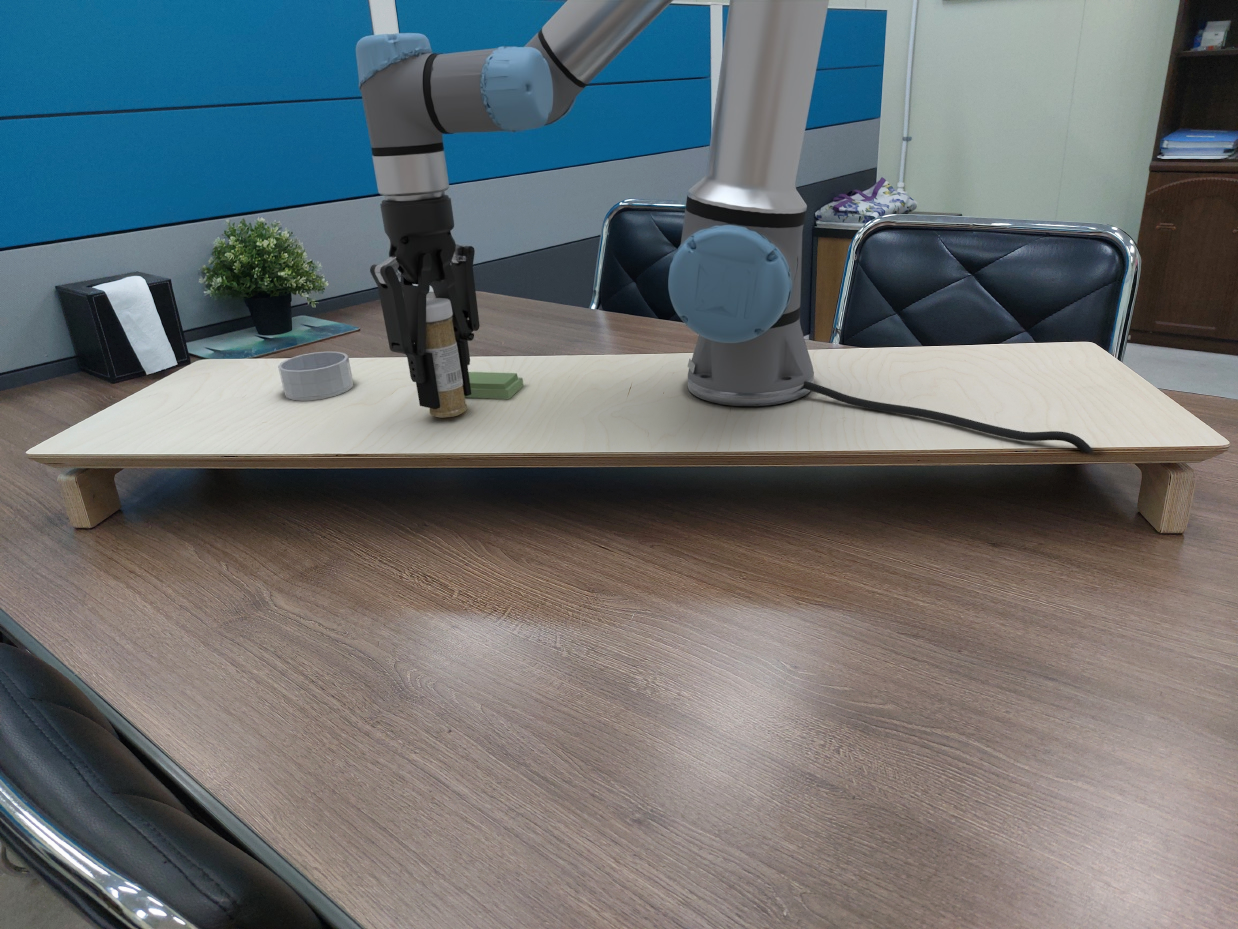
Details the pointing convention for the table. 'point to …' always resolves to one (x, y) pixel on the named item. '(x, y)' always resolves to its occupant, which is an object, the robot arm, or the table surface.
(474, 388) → the green stepped block
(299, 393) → the grey short cylinder
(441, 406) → the spice jar
